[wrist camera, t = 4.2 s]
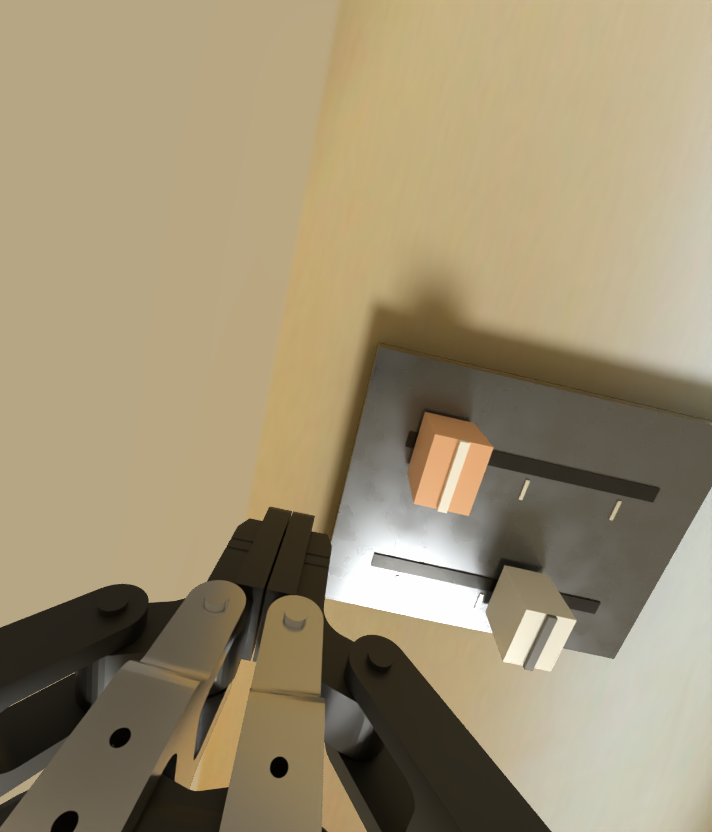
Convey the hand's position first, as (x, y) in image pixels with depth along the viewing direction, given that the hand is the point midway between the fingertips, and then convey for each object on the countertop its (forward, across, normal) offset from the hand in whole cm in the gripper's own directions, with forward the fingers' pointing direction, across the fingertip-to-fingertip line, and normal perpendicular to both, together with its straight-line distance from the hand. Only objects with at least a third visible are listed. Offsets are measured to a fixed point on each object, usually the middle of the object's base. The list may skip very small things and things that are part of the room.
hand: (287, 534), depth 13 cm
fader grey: (+11, -15, +9) cm, 21 cm away
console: (+14, -13, +4) cm, 19 cm away
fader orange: (+11, -7, 0) cm, 13 cm away
